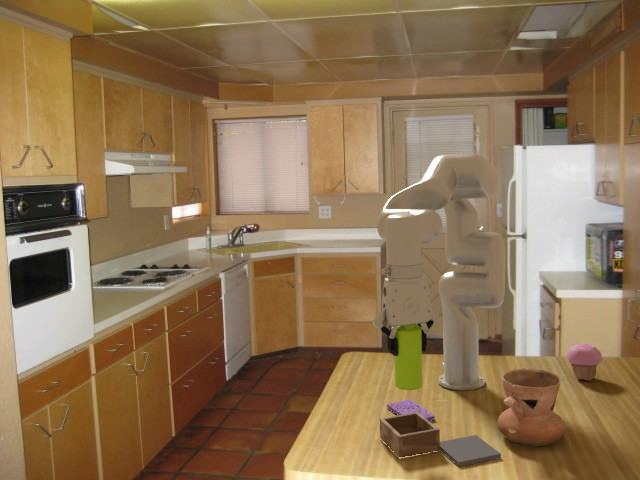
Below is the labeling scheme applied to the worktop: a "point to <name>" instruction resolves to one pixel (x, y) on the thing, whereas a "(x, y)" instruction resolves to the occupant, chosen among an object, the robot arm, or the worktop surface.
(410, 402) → the sponges
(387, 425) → the holder
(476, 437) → the mat
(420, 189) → the robot arm
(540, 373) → the ceramic jug
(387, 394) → the worktop surface
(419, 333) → the soap dispenser
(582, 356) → the cupcake
